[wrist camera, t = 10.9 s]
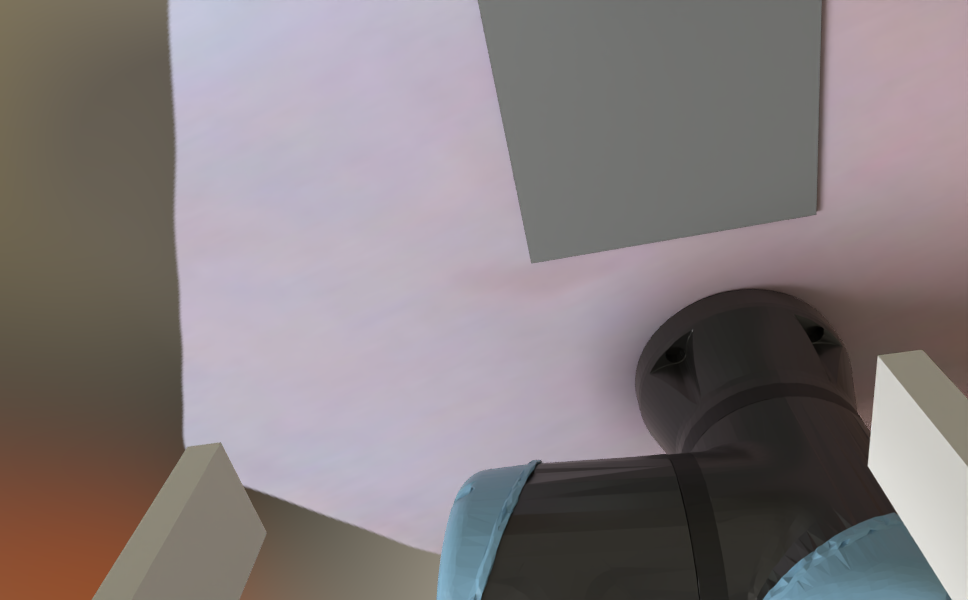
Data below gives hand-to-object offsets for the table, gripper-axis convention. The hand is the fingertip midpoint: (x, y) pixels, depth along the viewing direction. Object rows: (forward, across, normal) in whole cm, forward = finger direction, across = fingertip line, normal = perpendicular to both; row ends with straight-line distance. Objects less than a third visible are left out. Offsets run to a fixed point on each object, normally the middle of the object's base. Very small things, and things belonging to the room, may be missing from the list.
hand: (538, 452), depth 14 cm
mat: (+32, -8, +2) cm, 33 cm away
